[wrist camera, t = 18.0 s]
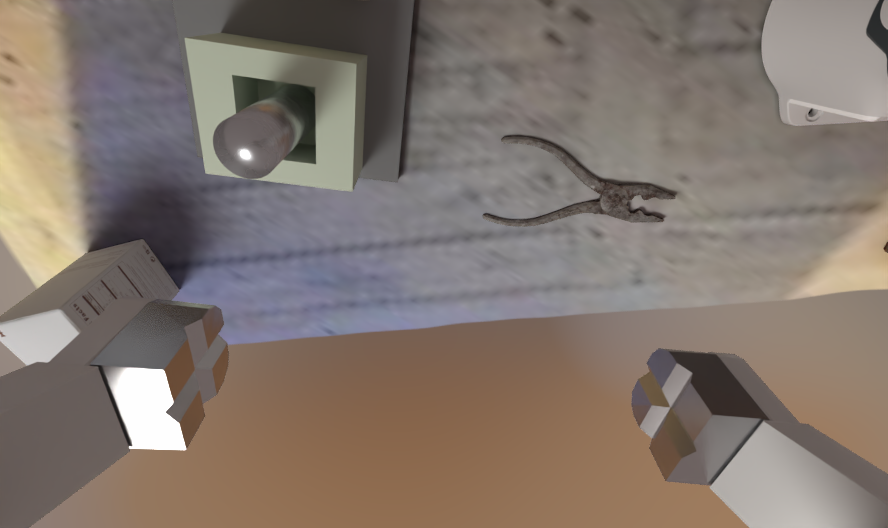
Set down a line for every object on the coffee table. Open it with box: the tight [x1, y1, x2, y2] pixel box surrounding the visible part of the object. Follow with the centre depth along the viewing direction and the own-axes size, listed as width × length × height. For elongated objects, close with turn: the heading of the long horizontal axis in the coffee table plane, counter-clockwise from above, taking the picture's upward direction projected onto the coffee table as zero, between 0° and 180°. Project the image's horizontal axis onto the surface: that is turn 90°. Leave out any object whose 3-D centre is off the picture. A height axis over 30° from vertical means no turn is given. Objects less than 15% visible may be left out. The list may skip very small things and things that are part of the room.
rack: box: [185, 33, 367, 192], centre depth 35 cm, size 12×10×6 cm
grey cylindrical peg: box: [213, 84, 316, 179], centre depth 32 cm, size 4×4×12 cm
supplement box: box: [0, 239, 179, 366], centre depth 43 cm, size 7×7×13 cm
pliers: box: [483, 136, 675, 226], centre depth 43 cm, size 10×1×20 cm
